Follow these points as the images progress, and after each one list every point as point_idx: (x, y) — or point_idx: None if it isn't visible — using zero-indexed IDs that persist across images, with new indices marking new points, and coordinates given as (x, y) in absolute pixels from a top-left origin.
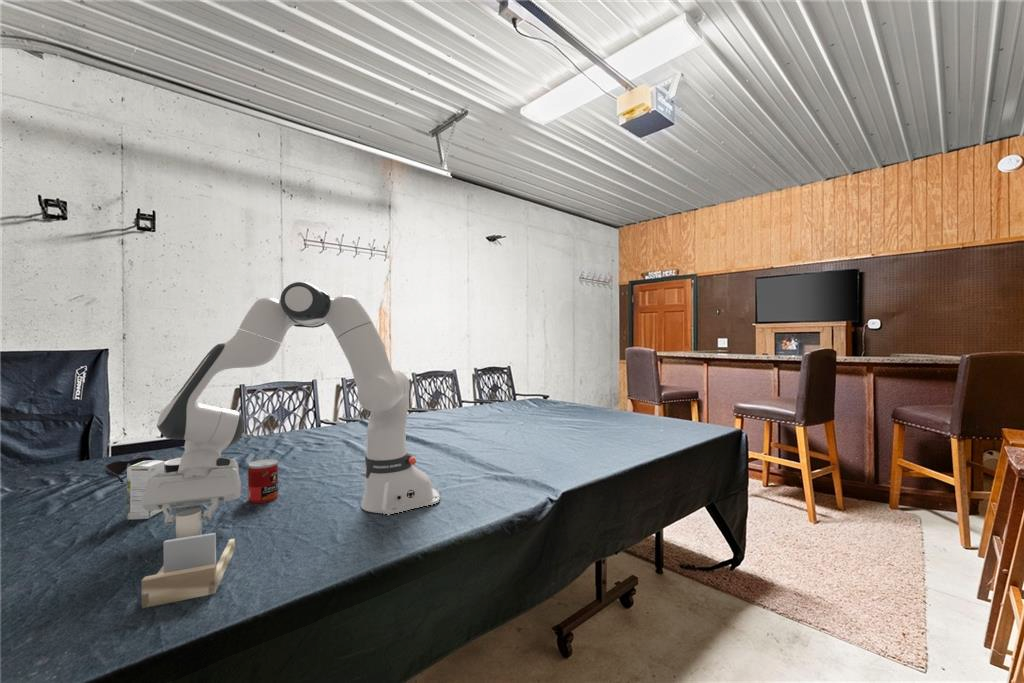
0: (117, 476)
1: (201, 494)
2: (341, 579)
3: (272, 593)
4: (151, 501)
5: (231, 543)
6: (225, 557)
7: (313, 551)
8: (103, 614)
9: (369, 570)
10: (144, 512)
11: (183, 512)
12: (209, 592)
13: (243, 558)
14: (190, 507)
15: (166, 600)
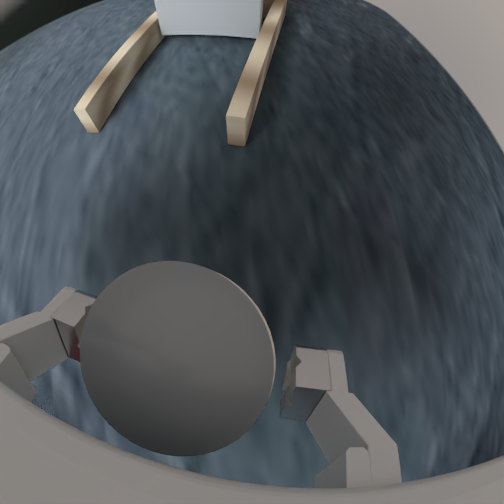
0: None
1: (12, 431)
2: (57, 19)
3: (121, 4)
4: (492, 481)
5: (94, 83)
6: (135, 31)
7: (18, 79)
8: (340, 29)
9: (31, 32)
10: None
11: (208, 308)
12: None
13: None
14: (157, 421)
15: None
